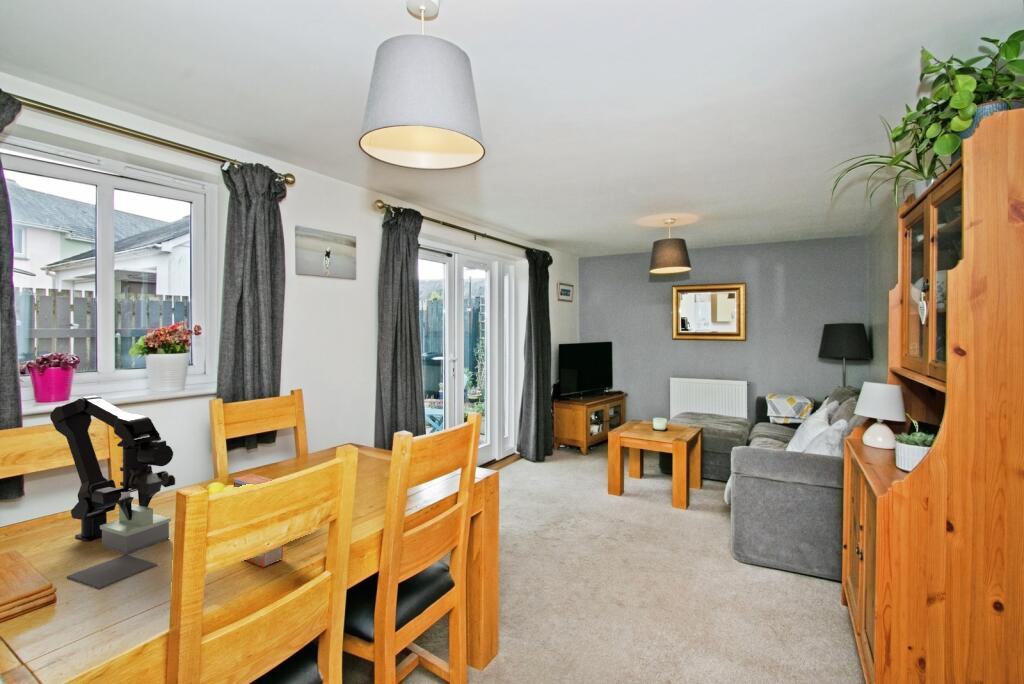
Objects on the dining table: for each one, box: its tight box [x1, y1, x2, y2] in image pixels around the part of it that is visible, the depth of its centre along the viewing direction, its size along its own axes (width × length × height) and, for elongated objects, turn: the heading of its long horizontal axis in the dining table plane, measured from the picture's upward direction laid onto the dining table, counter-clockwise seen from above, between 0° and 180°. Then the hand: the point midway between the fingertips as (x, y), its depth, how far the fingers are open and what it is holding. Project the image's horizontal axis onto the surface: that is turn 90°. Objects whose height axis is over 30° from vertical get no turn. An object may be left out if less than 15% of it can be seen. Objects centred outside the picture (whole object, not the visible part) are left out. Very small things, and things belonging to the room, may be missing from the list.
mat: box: [66, 554, 158, 590], centre depth 125 cm, size 13×13×1 cm
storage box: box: [101, 522, 170, 555], centre depth 141 cm, size 11×11×5 cm
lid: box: [100, 502, 171, 537], centre depth 141 cm, size 12×12×6 cm
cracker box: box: [233, 473, 284, 568], centre depth 134 cm, size 14×6×21 cm, turn 58°
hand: (135, 518), depth 141 cm, fingers closed on lid, 3 cm apart
